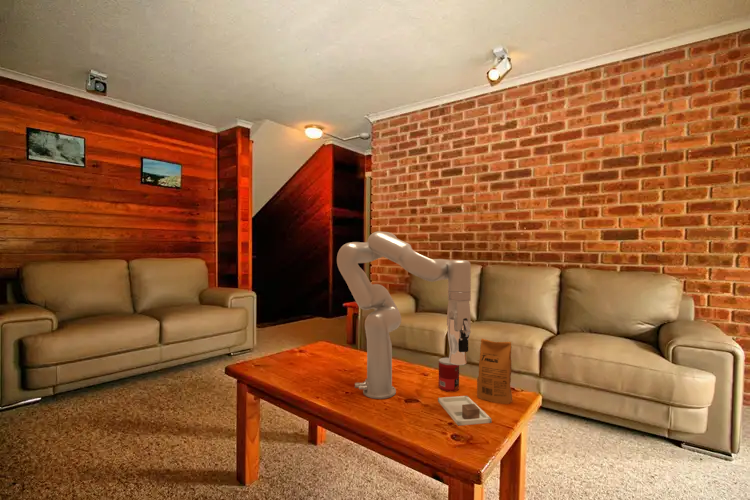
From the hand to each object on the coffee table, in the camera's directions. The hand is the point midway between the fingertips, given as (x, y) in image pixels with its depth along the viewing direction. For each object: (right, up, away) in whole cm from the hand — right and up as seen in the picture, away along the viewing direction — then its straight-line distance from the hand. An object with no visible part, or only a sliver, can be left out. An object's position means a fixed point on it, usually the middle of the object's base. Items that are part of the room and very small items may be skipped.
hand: (459, 348), depth 124 cm
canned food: (+1, -22, +20) cm, 30 cm away
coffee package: (+15, -22, +9) cm, 28 cm away
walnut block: (+2, -20, -9) cm, 22 cm away
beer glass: (0, -5, 0) cm, 5 cm away
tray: (+1, -21, -3) cm, 22 cm away
